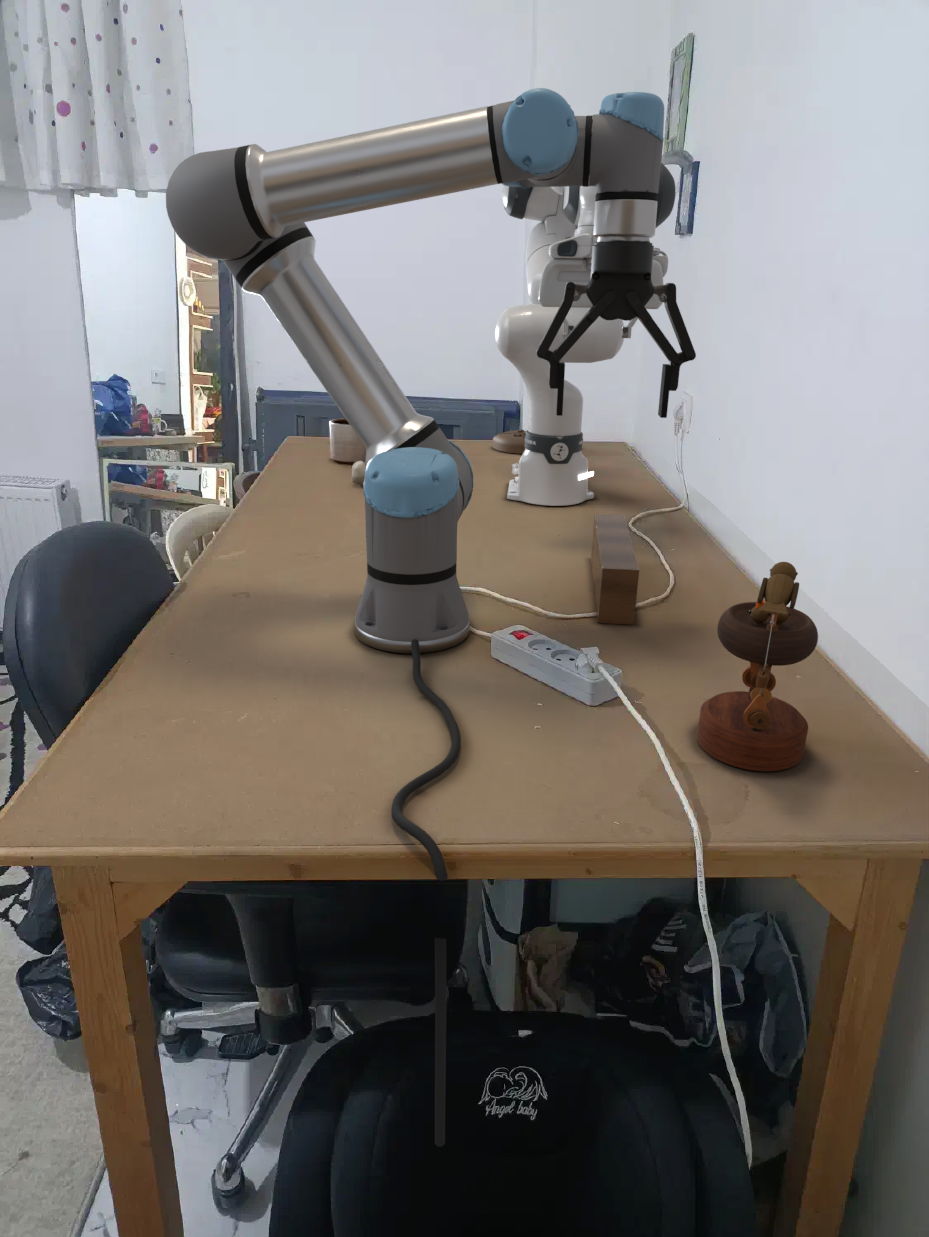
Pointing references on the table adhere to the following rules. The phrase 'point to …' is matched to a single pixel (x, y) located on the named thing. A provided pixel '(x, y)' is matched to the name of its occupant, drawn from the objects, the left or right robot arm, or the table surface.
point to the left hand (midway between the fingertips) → (610, 415)
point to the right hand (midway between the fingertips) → (597, 337)
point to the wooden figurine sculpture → (760, 680)
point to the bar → (614, 570)
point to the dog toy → (358, 472)
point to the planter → (345, 443)
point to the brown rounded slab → (510, 441)
